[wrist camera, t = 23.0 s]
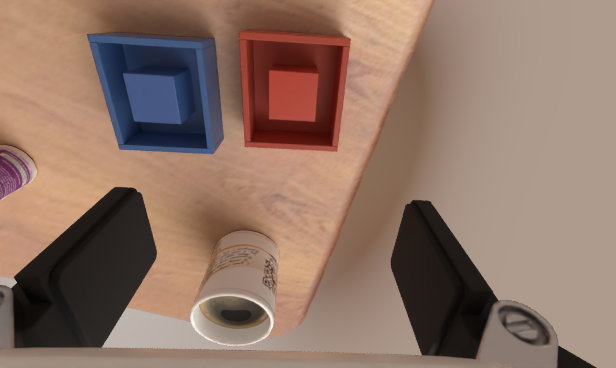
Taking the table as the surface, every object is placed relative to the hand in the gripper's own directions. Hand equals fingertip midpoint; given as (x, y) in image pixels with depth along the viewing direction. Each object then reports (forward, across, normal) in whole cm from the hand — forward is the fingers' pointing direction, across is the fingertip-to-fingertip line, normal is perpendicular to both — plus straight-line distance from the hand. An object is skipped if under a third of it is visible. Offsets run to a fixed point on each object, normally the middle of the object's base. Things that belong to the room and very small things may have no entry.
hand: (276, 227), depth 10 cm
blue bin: (+24, +13, +1) cm, 28 cm away
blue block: (+24, +13, +1) cm, 27 cm away
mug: (+24, +6, +26) cm, 36 cm away
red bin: (+24, 0, 0) cm, 24 cm away
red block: (+24, 0, 0) cm, 24 cm away
